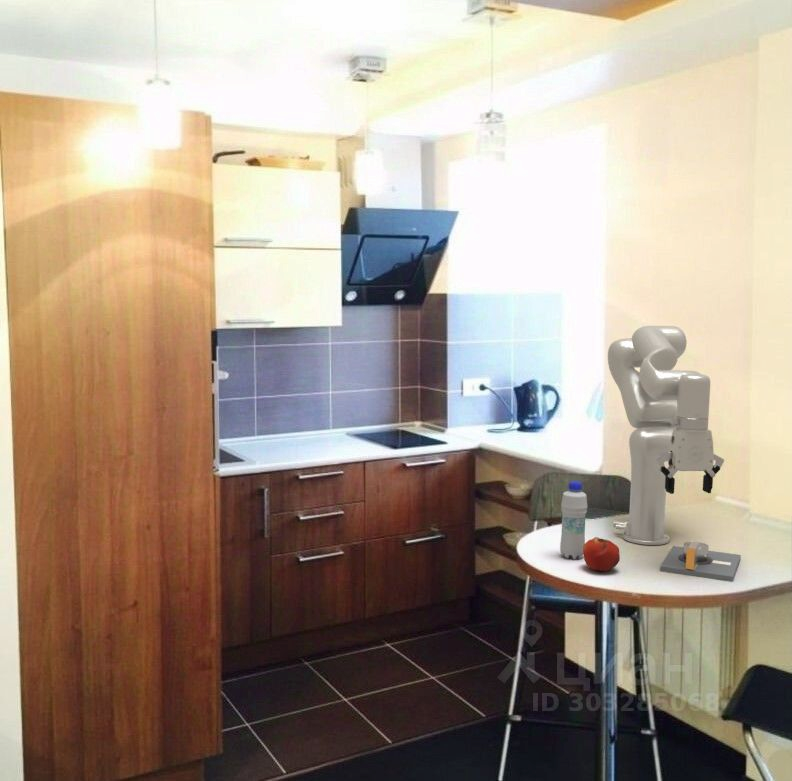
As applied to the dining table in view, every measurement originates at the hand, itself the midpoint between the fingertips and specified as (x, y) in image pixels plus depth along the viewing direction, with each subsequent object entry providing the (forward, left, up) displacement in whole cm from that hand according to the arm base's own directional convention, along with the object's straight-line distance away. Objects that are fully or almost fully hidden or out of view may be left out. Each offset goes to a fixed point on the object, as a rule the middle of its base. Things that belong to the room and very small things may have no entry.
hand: (688, 492), depth 228 cm
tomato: (-19, -11, -20) cm, 29 cm away
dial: (+2, +2, -18) cm, 18 cm away
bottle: (-28, -4, -20) cm, 34 cm away
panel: (+3, +5, -20) cm, 21 cm away
